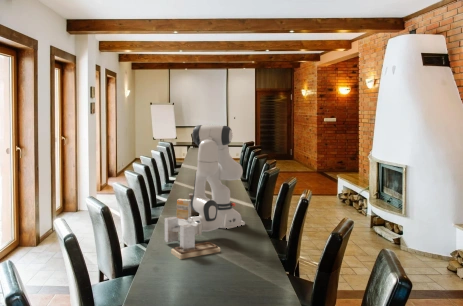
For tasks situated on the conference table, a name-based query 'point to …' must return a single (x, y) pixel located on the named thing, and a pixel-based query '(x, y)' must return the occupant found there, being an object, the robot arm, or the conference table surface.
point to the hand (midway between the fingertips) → (169, 228)
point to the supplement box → (183, 209)
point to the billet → (187, 237)
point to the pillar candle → (191, 208)
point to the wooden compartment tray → (196, 250)
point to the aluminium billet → (169, 224)
